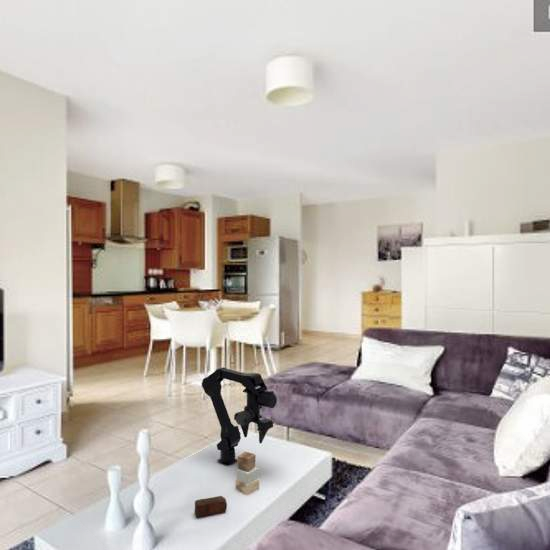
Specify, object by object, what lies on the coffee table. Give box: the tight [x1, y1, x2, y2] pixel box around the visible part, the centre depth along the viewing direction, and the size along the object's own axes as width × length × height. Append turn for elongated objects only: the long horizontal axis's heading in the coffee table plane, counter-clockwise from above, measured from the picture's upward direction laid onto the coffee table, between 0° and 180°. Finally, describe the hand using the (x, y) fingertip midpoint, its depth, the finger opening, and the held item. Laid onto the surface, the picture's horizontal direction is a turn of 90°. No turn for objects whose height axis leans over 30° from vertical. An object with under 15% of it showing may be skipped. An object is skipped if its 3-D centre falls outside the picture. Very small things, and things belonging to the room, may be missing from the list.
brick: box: [194, 495, 228, 519], centre depth 146 cm, size 11×4×5 cm, turn 112°
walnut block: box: [237, 451, 256, 472], centre depth 163 cm, size 5×5×5 cm
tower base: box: [235, 478, 260, 496], centre depth 162 cm, size 6×6×4 cm
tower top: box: [235, 466, 259, 484], centre depth 162 cm, size 6×6×4 cm
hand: (252, 440), depth 177 cm, fingers open, 9 cm apart
